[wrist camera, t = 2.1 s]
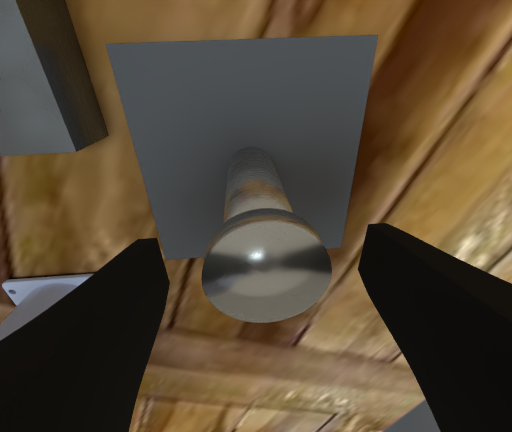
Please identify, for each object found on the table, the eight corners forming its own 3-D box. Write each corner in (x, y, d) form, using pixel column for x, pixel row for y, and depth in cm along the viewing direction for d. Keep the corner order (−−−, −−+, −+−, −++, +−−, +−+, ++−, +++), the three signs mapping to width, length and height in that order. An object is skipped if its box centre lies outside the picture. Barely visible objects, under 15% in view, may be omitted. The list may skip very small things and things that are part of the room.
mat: (339, 244, 20) (341, 247, 20) (167, 256, 20) (166, 259, 20) (374, 35, 13) (378, 34, 13) (109, 44, 13) (105, 43, 12)
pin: (280, 195, 17) (324, 317, 9) (223, 198, 17) (210, 326, 9) (281, 137, 15) (340, 221, 7) (216, 140, 15) (191, 230, 7)
